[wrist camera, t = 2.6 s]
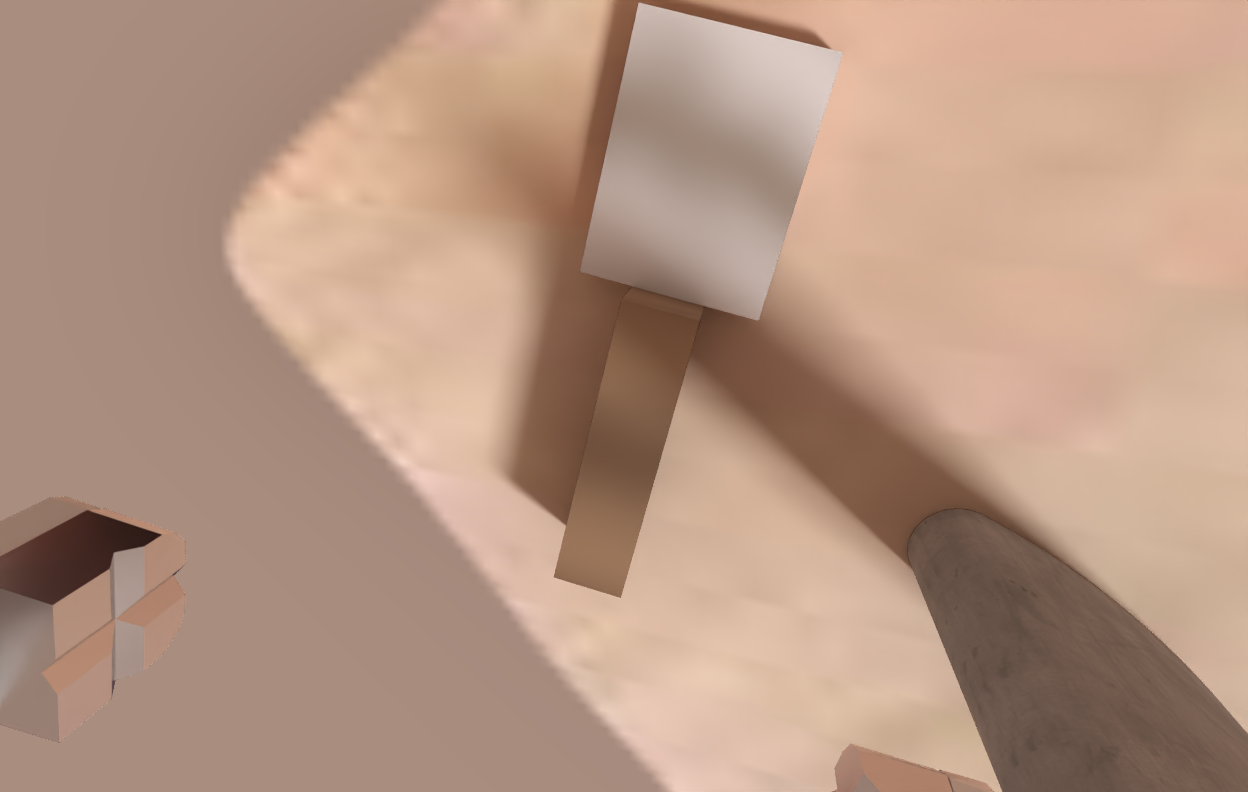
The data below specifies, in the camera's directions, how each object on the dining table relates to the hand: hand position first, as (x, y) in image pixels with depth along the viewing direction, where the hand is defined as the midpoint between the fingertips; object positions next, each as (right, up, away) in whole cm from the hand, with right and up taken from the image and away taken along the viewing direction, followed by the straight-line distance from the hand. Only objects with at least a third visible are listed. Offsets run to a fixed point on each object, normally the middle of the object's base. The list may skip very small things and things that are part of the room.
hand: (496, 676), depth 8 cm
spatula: (+3, +6, +16) cm, 17 cm away
